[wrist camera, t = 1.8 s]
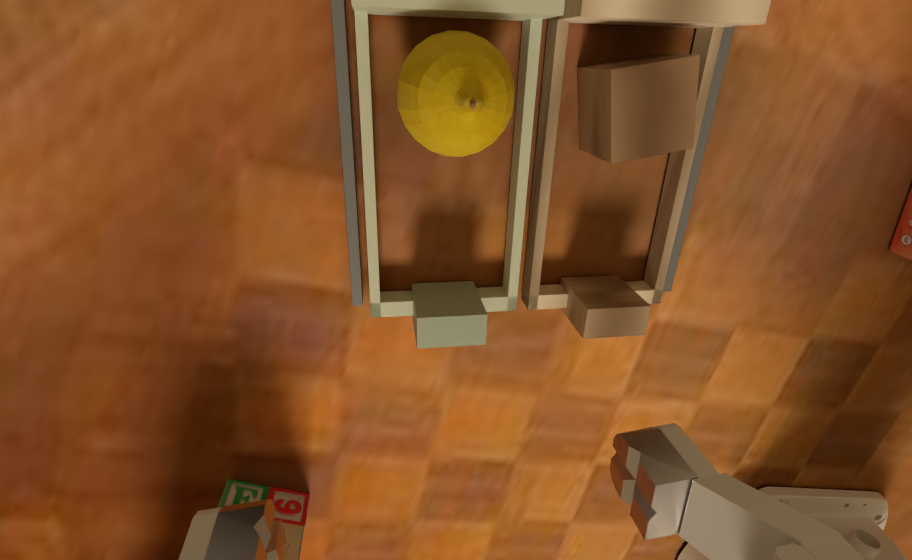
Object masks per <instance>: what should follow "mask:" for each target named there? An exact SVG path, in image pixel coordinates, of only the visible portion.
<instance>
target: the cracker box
mask: <svg viewBox="0 0 912 560" xmlns="http://www.w3.org/2000/svg"><path fill="white" fill-rule="evenodd" d="M889 251H890V252H892V253H895V254H897V255H900V256H902V257H905V258H907V259H910V260H912V186H911V189H910V191H909V194H908V197H907V200H906V203H905V206H904V209H903V211H902V214H901V217H900V220H899V223H898V225H897V228H896V231H895V234H894V237H893V239H892V242H891V245H890V248H889Z"/></svg>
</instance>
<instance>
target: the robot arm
mask: <svg viewBox="0 0 912 560" xmlns="http://www.w3.org/2000/svg"><path fill="white" fill-rule="evenodd" d="M613 447H614V448H615V450H616V452H617V453H616V454H615V455H614V456H613V457H612V458H611V464H610V471H611V477H612V481H613V484H614V486H615V489H616V491H617V493H618V494H619V496H620V498H621V499H622V500H624V501H626V502H627V503H629V504H630V505H631V512H630V515H631V517H632V519H633V521H634V522H635V524H636V526H637V528H638V529H639V531H640V533H641V534H642V536H643V538H644V540H647V539H652V538H658V537H663V536H668V535H674V534H679V536H680V537H681V538H683V539H684V540H685V541H687V542H688V544H687V545H686V546H685V548H684V549H683V550H682V552H681V553H680V555H679V557H678V559H677V560H907V559H906V557H905V555H904V554H903V553H902V551H901V550H900V549H899V547H898V546H897V545H896V544H895V543H894V542H893V541H892V539H891V538H890V537H889V536H888V535H887V534H886V533H885V532H884V531H883V530H884V527H885V524H886V521H887V517H888V504H887V501H886V499H885V498H884V497H883V496H882V495H881V494H880V493H879V492H872V491H853V490H832V489H811V488H790V487H764V488H761V489H759V490H757V489H755V488H753V487H751V486H749V485H747V484H745V483H743V482H741V481H739V480H737V479H736V478H734V477H732V476H730V475H728V474H726V473H723V474H719V473H718V472H717V471H716V469H715V468H714V467H713V466H712V465H711V463H710V462H709V461H708V460H707V459H706V457H705V456H704V455H703V454H702V453H701V452H700V450H699V449H698V448H697V447H696V446H695V444H694V443H693V442H692V441H691V440H690V438H689V437H688V436H687V435H686V434H685V433H684V431H683V430H682V429H681V428H680V427H679V426H678V425H676V424H675V423H672V424H667V425H662V426H656V427H650V428H645V429H640V430H635V431H630V432H625V433H620V434H616V436H615V437H614V441H613ZM274 514H275V507H274V505H273V502H272V499H267V500H260V501H254V502H248V503H242V504H235V505H229V506H223V507H218V508H212V509H206V510H200V511H198V512H197V513H196V514H195V516H194V517H193V519H192V521H191V524H190V527H189V530H188V533H187V536H186V539H185V542H184V545H183V548H182V551H181V554H180V556H179V559H178V560H283V557H284V539H283V532H282V528H281V525H280V522H278V521H276V520H274Z"/></svg>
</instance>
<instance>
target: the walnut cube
mask: <svg viewBox="0 0 912 560" xmlns="http://www.w3.org/2000/svg"><path fill="white" fill-rule="evenodd" d="M699 62H700V55H647V56H642V57H636V58H630V59H624V60H618V61H612V62H607V63H601V64H595V65H589V66H583V67H577V92H578V123H579V149H581V150H583V151H586V152H588V153H590V154H592V155H594V156H596V157H598V158H600V159H603V160H605V161H607V162H609V163H611V164H612V163H617V162H623V161H628V160H633V159H639V158H644V157H650V156H655V155H660V154H666V153H671V152H676V151H682V150H687V149H693V146H694V132H695V118H696V104H697V90H698V76H699Z"/></svg>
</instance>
